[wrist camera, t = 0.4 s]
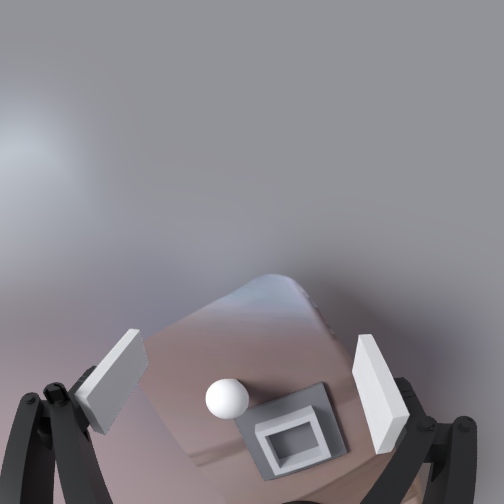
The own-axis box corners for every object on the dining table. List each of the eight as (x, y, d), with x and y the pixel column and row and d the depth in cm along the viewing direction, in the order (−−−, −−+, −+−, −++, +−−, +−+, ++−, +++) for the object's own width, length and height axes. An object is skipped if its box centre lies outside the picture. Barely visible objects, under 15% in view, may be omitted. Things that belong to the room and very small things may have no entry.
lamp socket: (345, 450, 41) (352, 461, 36) (264, 477, 41) (264, 491, 36) (321, 381, 44) (327, 389, 39) (232, 412, 43) (229, 422, 39)
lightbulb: (247, 364, 45) (242, 382, 34) (254, 397, 44) (251, 422, 33) (211, 370, 45) (197, 388, 34) (219, 402, 44) (207, 427, 33)
